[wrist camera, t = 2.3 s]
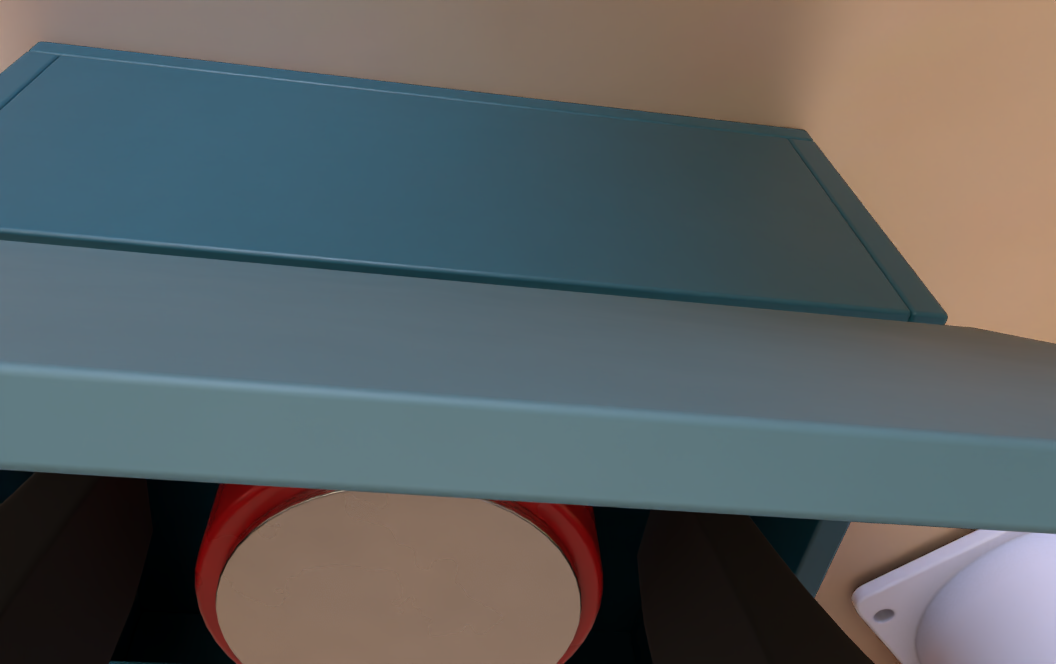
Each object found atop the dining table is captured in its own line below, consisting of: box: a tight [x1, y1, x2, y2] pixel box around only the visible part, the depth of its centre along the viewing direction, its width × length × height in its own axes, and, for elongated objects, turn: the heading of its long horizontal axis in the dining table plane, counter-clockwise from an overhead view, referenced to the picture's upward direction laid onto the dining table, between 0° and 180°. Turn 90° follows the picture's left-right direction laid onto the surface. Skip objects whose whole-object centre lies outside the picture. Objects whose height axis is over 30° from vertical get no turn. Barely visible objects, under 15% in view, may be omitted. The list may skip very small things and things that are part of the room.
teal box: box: [0, 42, 948, 664], centre depth 17 cm, size 14×13×7 cm
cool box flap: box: [0, 240, 1056, 534], centre depth 7 cm, size 7×13×1 cm
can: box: [195, 483, 603, 664], centre depth 14 cm, size 5×5×8 cm
